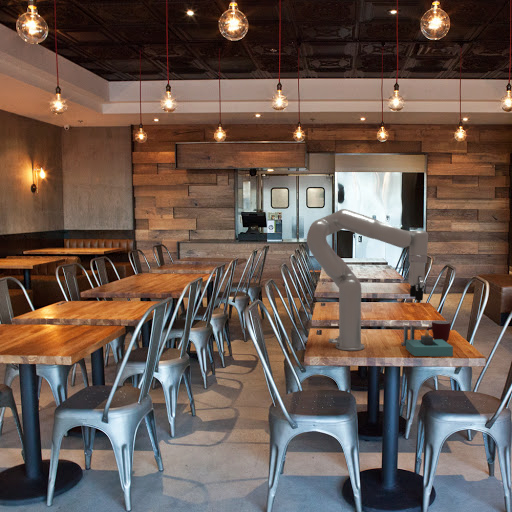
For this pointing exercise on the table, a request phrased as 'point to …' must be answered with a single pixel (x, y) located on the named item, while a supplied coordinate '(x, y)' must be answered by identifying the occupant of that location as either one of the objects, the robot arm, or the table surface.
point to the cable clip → (412, 331)
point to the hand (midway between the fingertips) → (416, 298)
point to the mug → (440, 330)
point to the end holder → (429, 348)
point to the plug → (427, 339)
